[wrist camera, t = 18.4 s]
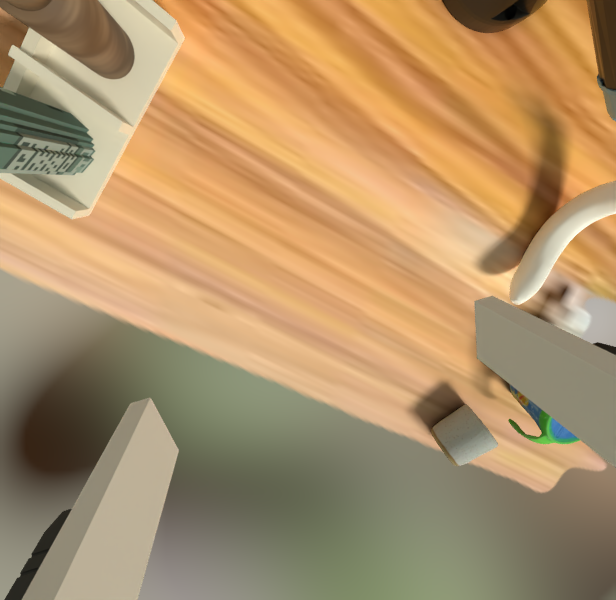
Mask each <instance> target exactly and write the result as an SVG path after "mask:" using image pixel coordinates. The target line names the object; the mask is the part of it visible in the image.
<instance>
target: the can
mask: <svg viewBox="0 0 616 600" xmlns="http://www.w3.org/2000/svg"><path fill="white" fill-rule="evenodd" d="M88 131H89V129H87V128H86V127H85V126H84V125H83V124H82V123H81V122H80V121H79V120H78V119H77V118H76V117H74V116H73V115H72V114H71V113H68V112H66V111H63V110H61V109H58V108H55V107H53V106H50V105H47V104H45V103H42V102H39V101H37V100H34V99H31V98H28V97H26V96H23V95H20V94H18V93H15V92H12V91H10V90H7V89H4V88H2V87H0V173H19V174H49V175H75V174H76V173H83V172H84V170H85V169H86V168H87V167H88V166H89V165H90V164H91V162H92V161H93V160H94V159H93V158H92V157H91V156H92V154H93V153H94V152H95V150H94V149H93V148H92V147H93V146H94V144H93V143H92V140H93V138H92V137H91V136H90V135H88V134H87V132H88Z"/></svg>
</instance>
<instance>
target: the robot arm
mask: <svg viewBox="0 0 616 600" xmlns="http://www.w3.org/2000/svg"><path fill="white" fill-rule="evenodd" d="M546 1H547V0H443V2H444V3H445V5H446V7H447V8H448V10H449V11H450V13H451V14H452V15H453V16H454V17H455V18H456V19H457V20H458V21H459V22H460V23H461V24H463V25H464V26H466V27H467V28H469V29H472V30H474V31H478V32H483V33H493V32H499V31H503V30H505V29H508V28H510V27H512V26H514V25H515V24H517V23H519V22H520V21H522V20H524V19H525V18H527V17H529V16H530V15H532V14H533V13H534V12H535V11H537V10H538V9H539V8H540V7H541V6H542V5H543V4H544V3H545V2H546ZM587 6H588V12H589V18H590V24H591V30H592V36H593V42H594V48H595V54H596V60H597V66H598V72H599V74H598V76H597V82H598V85H599V87H600V88H601V89H602V90H603V94H604V98H605V103H606V107H607V111H608V114H609V115H610V117H611V118H612V119H613V120H614V121H616V0H587ZM475 323H476V344H477V359H479V360H480V361H481V362H482V363H484V364H485V365H486V366H488V367H489V368H490V369H491V370H493V371H494V372H495V373H496V374H498V375H499V376H500V377H501V378H503V379H504V380H505V381H507V382H508V383H509V384H510V385H512V386H513V387H514V388H515V389H517V390H518V391H519V392H520V393H522V394H523V395H524V396H525V397H527V398H528V399H529V400H531V401H532V402H533V403H534V404H536V405H537V406H538V407H539V408H541V409H542V410H543V411H544V412H546V413H547V414H548V415H549V416H551V417H552V418H553V419H555V420H556V421H557V422H558V423H560V424H561V425H562V426H563V427H565V428H566V429H567V430H568V431H570V432H571V433H572V434H573V435H575V436H576V437H577V438H579V439H580V440H581V441H582V442H584V443H585V444H586V445H587V446H589V447H590V448H591V449H592V450H594V451H595V452H596V453H597V454H599V455H600V456H601V457H603V458H604V459H605V460H606V461H608V462H609V463H610V464H611V465H613V466H614V467H615V468H616V347H613V346H610V345H606V344H602V343H594V344H591V343H589V342H587V341H585V340H583V339H581V338H579V337H577V336H575V335H573V334H571V333H568V332H566V331H564V330H562V329H560V328H558V327H556V326H554V325H552V324H550V323H548V322H546V321H543V320H541V319H539V318H537V317H535V316H533V315H531V314H529V313H527V312H525V311H523V310H521V309H518V308H516V307H514V306H512V305H510V304H508V303H506V302H504V301H502V300H500V299H498V298H496V297H493V296H490V297H487V298H483V299H480V300H477V301H475ZM178 451H179V450H178V448H177V446H176V445H175V443H174V441H173V439H172V437H171V435H170V433H169V431H168V430H167V428H166V426H165V424H164V422H163V420H162V418H161V416H160V414H159V413H158V411H157V409H156V407H155V405H154V403H153V401H152V400H151V398H148V399H144V400H141V401H137V402H134V403H130V405H129V407H128V409H127V410H126V412H125V414H124V416H123V418H122V419H121V421H120V423H119V425H118V427H117V428H116V430H115V432H114V434H113V436H112V437H111V439H110V441H109V443H108V445H107V447H106V448H105V450H104V452H103V454H102V456H101V457H100V459H99V461H98V463H97V465H96V466H95V468H94V470H93V472H92V474H91V475H90V477H89V479H88V481H87V483H86V484H85V486H84V488H83V490H82V492H81V494H80V495H79V497H78V499H77V501H76V502H75V504H74V506H73V508H72V509H69V510H66V511H64V512H62V513H61V514H60V515H59V517H58V518H57V519H56V520H55V521H54V522H53V523H52V524H51V526H50V527H49V528H48V529H47V530H46V531H45V532H44V534H43V536H42V537H41V539H40V541H39V542H38V544H37V546H36V548H35V549H34V551H33V553H32V557H31V558H29V559H28V561H27V563H26V564H25V566H24V568H23V569H22V571H21V576H20V577H19V578H17V579H16V581H15V583H14V584H13V586H12V588H11V589H10V591H9V593H8V595H7V596H6V598H5V600H137V599H138V596H139V592H140V588H141V585H142V581H143V578H144V574H145V570H146V567H147V563H148V560H149V556H150V552H151V549H152V545H153V541H154V538H155V534H156V531H157V527H158V523H159V520H160V516H161V513H162V509H163V505H164V502H165V498H166V495H167V491H168V487H169V484H170V480H171V476H172V473H173V469H174V466H175V462H176V459H177V455H178Z"/></svg>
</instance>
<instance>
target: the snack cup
mask: <svg viewBox="0 0 616 600" xmlns="http://www.w3.org/2000/svg"><path fill="white" fill-rule="evenodd" d="M510 391H511V393H512V395H513V396H514V398H515V399H516V400H517V401H518V402H519V403H520V404H521V406H522V407H523V408H524V409H525V410H526V411H527V412H528V413H529V414H530V416H531V417H532V418H533V419H534V420H535V422H536V423H537V425H538V427H539V428H540V430H541V431H542V434H541V436H539V437H535V436H531V435H527V434H525V433H524V432H523V431H522V430H521V429H520V427H519V426H518V425H517V424H516V423H515V422H514V421H513V420H511V419H509V422H510V424H511V425H512V427H513V428H514V429H515V430H516V431H517V432H519V433H520V434H521V435H522V436H524V437H526V438H527V439H529V440H531V441H533V442H536V443H540V444H550V443H559V444H570V443H574V442H577V441H580V439H579V438H577V437H576V436H575V435H573V434H572V433H571V432H570V431H568V430H567V429H566V428H565V427H563V426H562V425H561V424H560V423H558V422H557V421H556V420H555V419H553V418H552V417H551V416H549V415H548V414H547V413H546V412H544V411H543V410H542V409H541V408H539V407H538V406H537V405H536V404H534V403H533V402H532V401H531V400H529V399H528V398H527V397H525V396H524V395H523V394H522V393H520V392H519V391H518V390H517V389H515V388H514V387H513V386H512V385H510Z"/></svg>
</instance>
